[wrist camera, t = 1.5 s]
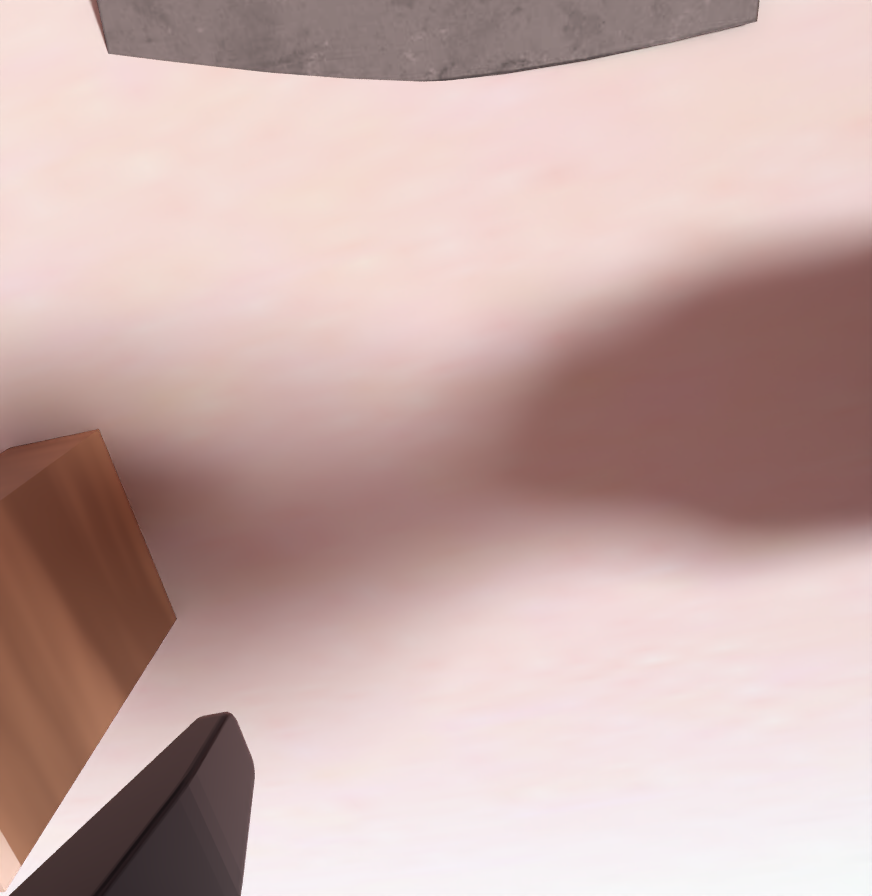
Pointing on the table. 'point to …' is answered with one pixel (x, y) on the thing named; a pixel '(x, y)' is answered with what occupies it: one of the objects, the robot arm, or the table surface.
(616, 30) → the cleaver
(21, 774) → the slab
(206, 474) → the table surface
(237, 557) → the table surface
